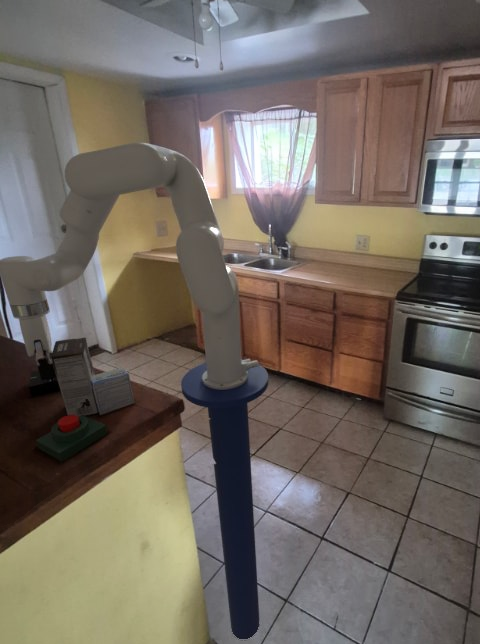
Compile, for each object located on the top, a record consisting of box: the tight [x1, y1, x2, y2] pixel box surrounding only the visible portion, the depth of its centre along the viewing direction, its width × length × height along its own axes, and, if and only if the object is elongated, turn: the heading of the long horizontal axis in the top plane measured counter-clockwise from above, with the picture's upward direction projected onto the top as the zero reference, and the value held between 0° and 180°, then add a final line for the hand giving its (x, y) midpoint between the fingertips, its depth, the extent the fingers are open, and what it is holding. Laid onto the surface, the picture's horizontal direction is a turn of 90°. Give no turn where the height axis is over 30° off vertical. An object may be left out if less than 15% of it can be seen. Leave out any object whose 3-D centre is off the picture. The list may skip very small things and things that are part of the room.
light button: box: [57, 414, 80, 432], centre depth 76 cm, size 4×4×2 cm
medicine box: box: [91, 366, 135, 416], centre depth 88 cm, size 8×4×9 cm, turn 129°
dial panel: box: [28, 369, 61, 398], centre depth 98 cm, size 9×9×3 cm
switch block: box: [35, 415, 108, 463], centre depth 77 cm, size 10×8×4 cm
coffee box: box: [51, 336, 99, 416], centre depth 86 cm, size 9×6×16 cm
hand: (49, 372), depth 97 cm, fingers open, 5 cm apart
